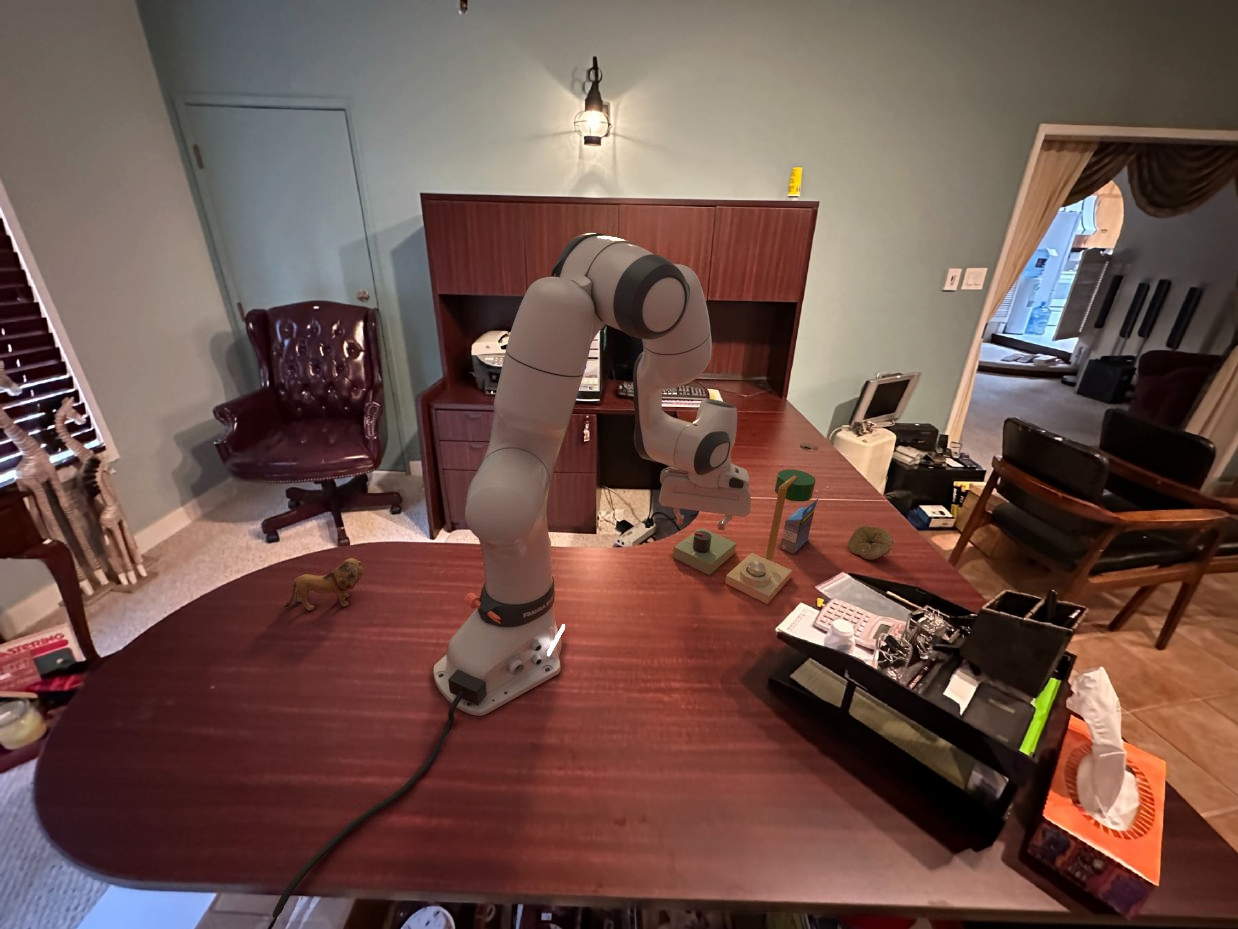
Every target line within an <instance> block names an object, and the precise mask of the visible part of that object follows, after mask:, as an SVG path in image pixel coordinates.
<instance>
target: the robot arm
mask: <svg viewBox="0 0 1238 929" xmlns="http://www.w3.org/2000/svg"><path fill="white" fill-rule="evenodd" d="M710 322H711V321H710V316H709V310H708V306H707V301H706V298H705V294H704V290H703V288H702V284H701V281H700V279H699V276H698V275H697V273H696V272H695V271H694V270H693V269H691V268H690V267H689V266H687V265H684V264H679V263H673V262H672V261H671V260H669V259H668V258H666V257H665V256H662V255H660V254H654V253H652V252H651V251H650V250H647V249H645V248H643V247H642V246H639V245H638V244H636V243H635V242H632V241H630V240H626V239H623V238H618V237H615V236H614V237H613V236H609V235H607V234H605V233H600V232H589V233H587V232H586V233H583V234H580V235H577V236H575V237H574V238H572V239H571V240H570V241H569V242H568V243H567V244H566V245H565V247H564V248H563V250H562V252H561V253H560V254H559V256H558V259H557V261H556V264H555V265H554V266H553V268H552V269H551V272H550V276H546V277H541V278H539V279H537V280H535V281H534V282H532V283H531V284H530V285H529V286H528V288H527V290H526V292H525V294H524V296H523V298H522V300H521V303H520V305H519V308H518V310H517V313H516V314H515V318H514V321H513V324H512V327H511V330H510V333H509V336H508V340H507V344H506V348H505V353H504V357H503V361H502V365H501V370H500V373H499V378H498V383H497V387H496V391H495V396H494V400H493V413H492V414H493V416H492V424H491V431H490V437H489V443H488V446H487V449H486V451H485V455H484V457H483V459H482V461H481V463H480V465H479V467H478V469H477V471H476V472H475V474H474V476H473V478H472V479H471V481H470V483H469V485H468V488H467V493H466V498H465V506H464V518H465V523H466V525H467V528H468V529H469V530H470V532H471V533H472V534H473V535H474V536H475V537H476V538H477V539H478V542H479V545H480V549H481V555H482V562H483V573H484V574H483V576H484V583H483V586H482V588H481V592H480V596H477V595H476V594H475V593H474V592H469V593H467V594H465V597H464V600H463V602H464V604H465V605H467V606H469V608H471V609H474V610H473V612H471V613H470V615H469V616H468V618H467V619H466V620H465V621H464V622H463V623H462V624H461V626H460V627H459V628H458V630H456V632H455V633H454V634H453V636H452V637H450V639H449V641H448V644H447V647H446V654H445V655H444V656H443V657H441V658H440V659H439V660H438V661H437V662H436V663H435V664H434V665H433V681H434V683H435V686H436V688H437V689H438V691H439V692H440V693H441V695H442V696H443V697H444V698H445V699H446V700H447V701H448V702H449V703H450V706H449V708H448V711H447V721H446V723H445V726H444V729H443V731H442V733H441V736H440V738H439V741H438V743H437V744H436V745H435V748H434V749H433V750H432V752H431V754H430V755H429V757H428V758H427V759H426V760H425V761H424V763H423V764H422V765H421V767H420V768H419V769H418V770H417V771H416V772H415V774H413V775H412V777H411V778H410V779H409V780H408V781H407V782H406V783H404V784H403V785H402V786H401V787H400V788H398V789H397V790H396V791H395V792H393V793H392V794H391V795H389V796H388V797H386V798H385V799H384V800H382V801H380V802H379V803H377V804H375V805H374V806H373V807H371V808H369V809H368V810H366V811H365V812H363V813H362V814H361V815H359V816H358V817H356V818H355V819H353V820H352V821H351V822H350V823H348V824H347V825H346V826H345V827H343V828H342V829H341V830H340V831H339V832H338V833H337V834H335V836H333V837H332V838H331V839H330V840H329V841H328V842H327V843H326V844H325V845H324V846H322V848H321V849H319V850H318V851H317V852H315V854H314V855H313V856H312V857H310V859H309V860H308V861H307V862H306V863H305V864H304V865H303V866H302V867H301V868H300V870H299V871H298V872H297V873H296V874H295V875H294V876H293V878H292V879H291V881H290V882H289V883H288V885H287V886H286V888H285V889H284V891H283V892H282V895H281V896H280V898H279V899H278V901H277V903H276V905H275V907H274V910H273V911H272V918H278V917H279V916H280V915H281V914H282V912H283V910H284V908H285V907H286V904H287V903H288V901H289V899H290V897H292V894H293V892H294V891H295V890H296V888H297V887H298V885H299V884H300V883H301V881H302V880H304V877H305V876H306V875H307V874H308V873H309V872H310V871H311V870H312V868H313V867H314V866H316V864H318V863H319V861H321V860H322V858H324V857H325V856H326V855H327V854H328V853H329V852H330V851H331V850H332V849H333V848H334V847H336V846H337V845H338V844H339V843H340V842H341V841H342V840H343V839H344V838H345V837H346V836H348V835H349V834H350V833H351V832H353V831H354V830H355V829H356V828H357V827H358V826H361V825H362V824H363V823H364V822H366V821H367V820H368V819H370V818H371V817H373V816H374V815H376V814H378V813H379V812H380V811H382V810H384V809H385V808H387V807H388V806H390V805H391V804H393V803H395V802H396V801H397V800H399V798H401V797H402V796H403V795H405V794H406V793H407V792H408V791H409V790H410V789H411V788H412V787H413V786H414V785H415V784H416V783H417V782H418V781H419V780H420V778H421V777H422V776H423V775H424V774H425V773H426V772H427V771H428V769H429V768H430V767H431V765H432V764H433V762H434V761H435V760H436V758H437V756H438V754H439V752H440V749H441V746H442V744H443V743H444V740H445V738H446V737H447V736H448V734H449V732H450V731H451V729H452V726H453V723H454V721H455V711H456V709H458V710H460V711H461V712H463V713H465V714H469V715H471V716H472V715H473V716H478V717H483V716H485V715H487V714H490V713H491V712H493V711H495V710H496V709H498V708H500V707H502V706H503V705H505V704H507V703H509V702H511V701H512V700H514V699H517V698H518V697H520V696H522V695H524V694H525V693H527V692H528V691H529V692H530V690H532V689H534V688H536V687H538V686H539V685H541V684H543V683H545V682H547V681H549V680H550V679H552V678H554V677H556V676H557V675H559V674H560V672H561V670H562V669H561V668H562V666H561V661H560V655H561V652H562V648H563V640H562V639H563V638H562V636H561V635H562V634H563V632H564V631H565V628H566V627H565V626H566V625H565V624H562V625H561V627H560V629H559V628H558V625H557V621H556V616H555V609H554V603H555V600H556V596H555V595H556V591H555V590H556V588H555V579H554V576H553V573H552V571H553V570H552V567H553V566H552V541H551V538H550V534H549V526H548V516H547V510H548V509H547V508H548V500H549V494H550V488H551V483H552V479H553V475H554V471H555V467H556V464H557V461H558V457H559V455H560V451H561V448H562V445H563V442H564V440H565V436H566V433H567V431H568V427H569V424H570V421H571V418H572V416H573V415H572V414H573V411H574V409H575V404H576V401H577V397H578V394H579V391H580V389H581V385H582V381H583V378H584V375H585V371H586V368H587V365H588V361H589V355H590V351H591V346H592V343H593V342H594V339H595V338H596V336H597V335H598V333H599V332H600V331H601V330H602V329H603V328H604V327H605V326H606V325H607V326H609V327H611V328H613V329H616V330H619V331H622V332H623V333H624V334H625V335H627V336H629V337H632V338H635V339H641V342H642V347H643V348H642V349H643V351H641V353H640V354H639V355H638V356H637V358H636V360H635V362H634V366H633V370H632V390H633V391H632V392H633V393H632V394H633V405H634V408H633V409H634V420H635V421H634V422H635V423H634V430H633V444H634V448H635V450H636V453H637V454H638V455H639V457H640V458H642V459H644V460H648V461H652V462H656V463H660V464H663V465H665V466H667V467H666V468H663V469H662V470H661V471H660V474H659V482H660V484H661V487H660V493H659V497H658V502H659V504H660V505H661V506H662V507H665V508H666V507H667V508H673V510H672V511H673V513H674V516H675V517H676V525H684V519H685V515H684V514H681V512H680V510H681V509H682V510H688V511H697V512H698V511H699V512H703V513H712V514H717V515H724V517H723V519H718V523H717V530H719V531H725V529H726V526H727V525H728V524H729V522H730V521H731V520H732V519H733V517H741V518H746V517H747V516H748V515H750V513H751V506H752V498H751V497H752V496H751V490H750V475H749V472H748V470H746V469H745V468H743V467H741V466H739V465H736V464H734V463H732V450H733V448H734V446H735V443H736V438H737V437H736V436H737V429H738V428H737V427H738V411H737V410H738V408H737V407H736V406H735V405H734V404H732V403H730V402H726V401H722V400H718V399H713V398H706V399H702V400H700V403H699V406H698V410H697V412H696V417H695V420H694V421H693V422H690V421H687V420H683V419H679V418H676V417H673V416H671V415H669V414H668V413H666V412H665V411H664V410H663V403H662V402H663V400H662V399H663V398H662V397H663V395H662V394H663V390H664V389H675V388H679V387H682V386H685V385H688V384H690V383H691V382H693V381H694V380H696V379H697V378H699V377H700V376H701V375H702V374H703V373H704V372H705V371H706V369H707V367H708V365H709V363H710V361H711V358H712V350H713V344H712V343H713V341H712V332H711V323H710ZM662 389H663V390H662Z"/></svg>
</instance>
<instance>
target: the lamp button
mask: <svg viewBox="0 0 1238 929" xmlns="http://www.w3.org/2000/svg"><path fill="white" fill-rule="evenodd" d="M747 572H748V574H750V575H752V576H754V577H763V576H764V573H765V565H764V564H763V563H761V562H758V561H751V562H749V564H748V569H747Z"/></svg>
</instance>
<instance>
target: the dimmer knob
mask: <svg viewBox="0 0 1238 929" xmlns="http://www.w3.org/2000/svg"><path fill="white" fill-rule="evenodd" d="M696 531H697V530H696ZM694 532H695V531H694ZM694 532H693V533H694ZM711 537H712V536H711V534H710V533H708V532H705V531H697V532H695V533H694V539H693V549H694V550H695V551H697V552H700V553H706V552H708V551H709V550H710V544H711Z"/></svg>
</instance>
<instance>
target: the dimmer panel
mask: <svg viewBox="0 0 1238 929" xmlns="http://www.w3.org/2000/svg"><path fill="white" fill-rule="evenodd" d="M697 531H705V532H708V533H710V534H711V536H712V537H711V544H710V550H709V551H708V552H706V553H700V552H697V551H695V550H694V549H693V539H694V533H695V532H697ZM736 549H737V542H736V541H733V540H731V539H729V538H726V537H724V536H722V535H719V534H717V533H715V532H713V531H711V530H708V529H706V528H703V527H699V528H698V529H697V530H695V531H694V532H693V533H691V534H690V535H688V536H687V537H685V538H684V539H683V540H681V541H679V543H677V544H675V545H674V546H673V550H672V558H673V559H675V560H678V561H679V562H682V563H683V564H685V565H688V566H690V567H692V568H694V569H696V570H698V571H700V572H702V573H703V574H706V575H708V576H710V575H711V574H713V573H714V572H715V571H716V570H717V569H719V567H721V566H722V565H723V564H724V563H725V562H726V561H728V559H731V557H732V556H733V555H735V554H736Z"/></svg>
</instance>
